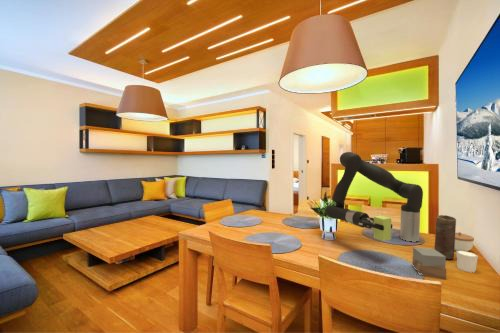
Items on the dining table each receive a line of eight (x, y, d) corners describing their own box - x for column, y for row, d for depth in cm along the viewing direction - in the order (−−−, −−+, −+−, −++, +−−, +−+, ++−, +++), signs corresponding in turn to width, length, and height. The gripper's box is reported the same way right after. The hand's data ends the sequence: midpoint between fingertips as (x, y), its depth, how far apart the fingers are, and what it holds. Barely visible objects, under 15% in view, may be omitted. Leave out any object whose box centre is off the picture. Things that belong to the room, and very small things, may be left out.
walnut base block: (412, 266, 101) (412, 256, 101) (437, 269, 98) (437, 259, 98) (418, 275, 93) (419, 265, 93) (446, 280, 89) (446, 269, 89)
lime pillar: (373, 237, 107) (373, 216, 106) (380, 236, 108) (381, 215, 108) (383, 241, 102) (383, 219, 102) (390, 239, 104) (391, 218, 103)
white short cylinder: (465, 265, 101) (466, 250, 101) (482, 273, 94) (482, 256, 94) (451, 265, 101) (451, 250, 101) (466, 273, 94) (467, 257, 94)
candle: (455, 257, 109) (456, 216, 108) (453, 262, 104) (455, 219, 103) (435, 252, 115) (436, 214, 114) (432, 257, 110) (434, 216, 109)
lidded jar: (459, 245, 124) (459, 229, 123) (479, 254, 113) (480, 235, 113) (440, 246, 123) (440, 229, 123) (458, 254, 113) (459, 236, 112)
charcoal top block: (412, 257, 100) (413, 247, 100) (433, 258, 98) (433, 248, 98) (423, 265, 92) (423, 255, 92) (445, 267, 90) (445, 256, 90)
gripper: (346, 212, 115) (376, 221, 100) (366, 209, 121) (398, 217, 105) (346, 227, 116) (376, 237, 100) (366, 223, 121) (398, 233, 105)
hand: (387, 227), depth 103 cm, fingers closed on lime pillar, 5 cm apart
